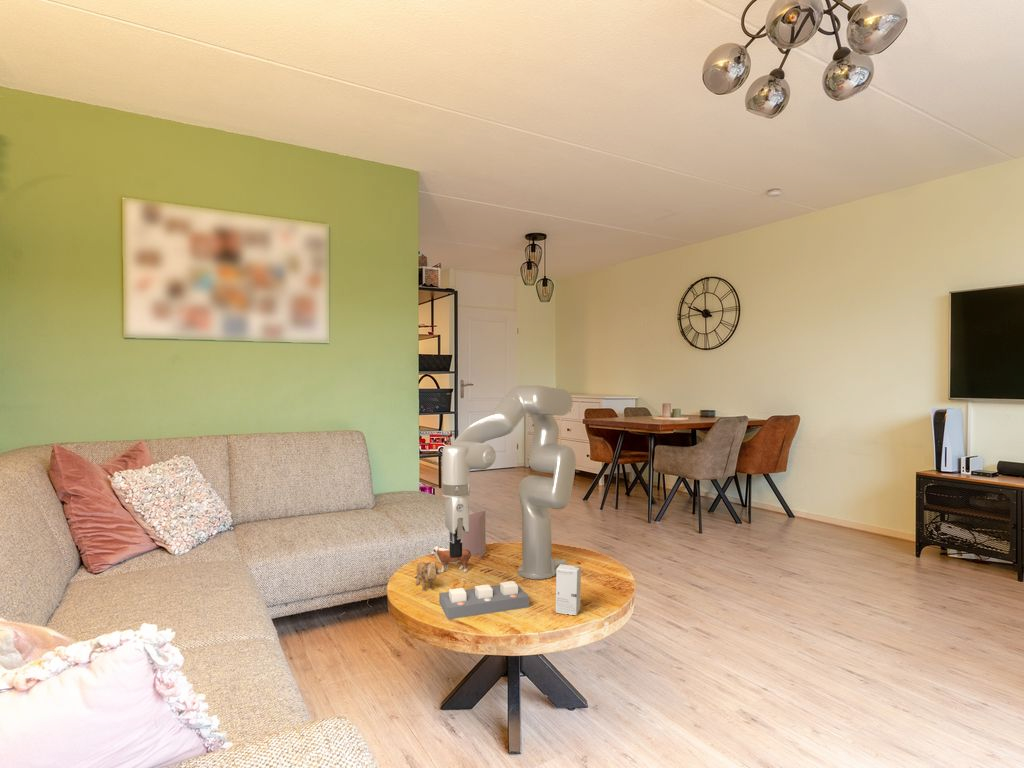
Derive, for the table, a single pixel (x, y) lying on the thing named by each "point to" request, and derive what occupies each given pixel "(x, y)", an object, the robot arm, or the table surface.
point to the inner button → (508, 588)
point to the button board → (483, 603)
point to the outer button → (457, 595)
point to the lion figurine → (427, 573)
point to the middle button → (483, 591)
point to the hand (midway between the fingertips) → (455, 556)
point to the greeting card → (475, 535)
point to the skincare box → (568, 589)
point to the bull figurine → (445, 558)
